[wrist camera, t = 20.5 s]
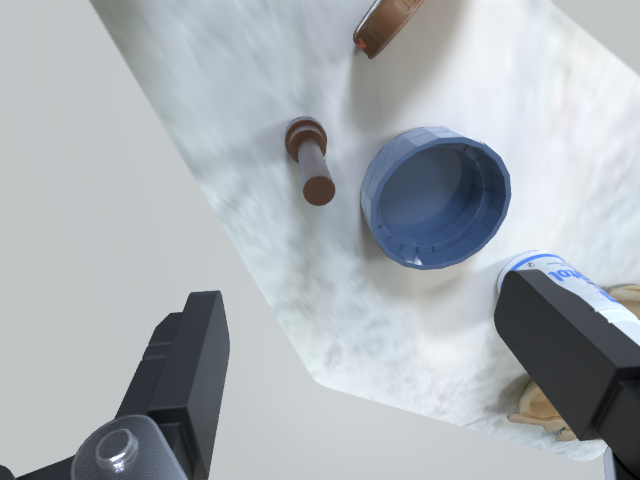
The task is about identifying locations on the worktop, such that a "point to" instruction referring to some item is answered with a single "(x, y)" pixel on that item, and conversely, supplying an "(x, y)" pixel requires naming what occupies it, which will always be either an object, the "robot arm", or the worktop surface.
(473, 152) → the bowl
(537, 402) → the tableware set
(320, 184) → the muddler
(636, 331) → the supplement tub
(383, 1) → the tin
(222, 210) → the worktop surface
